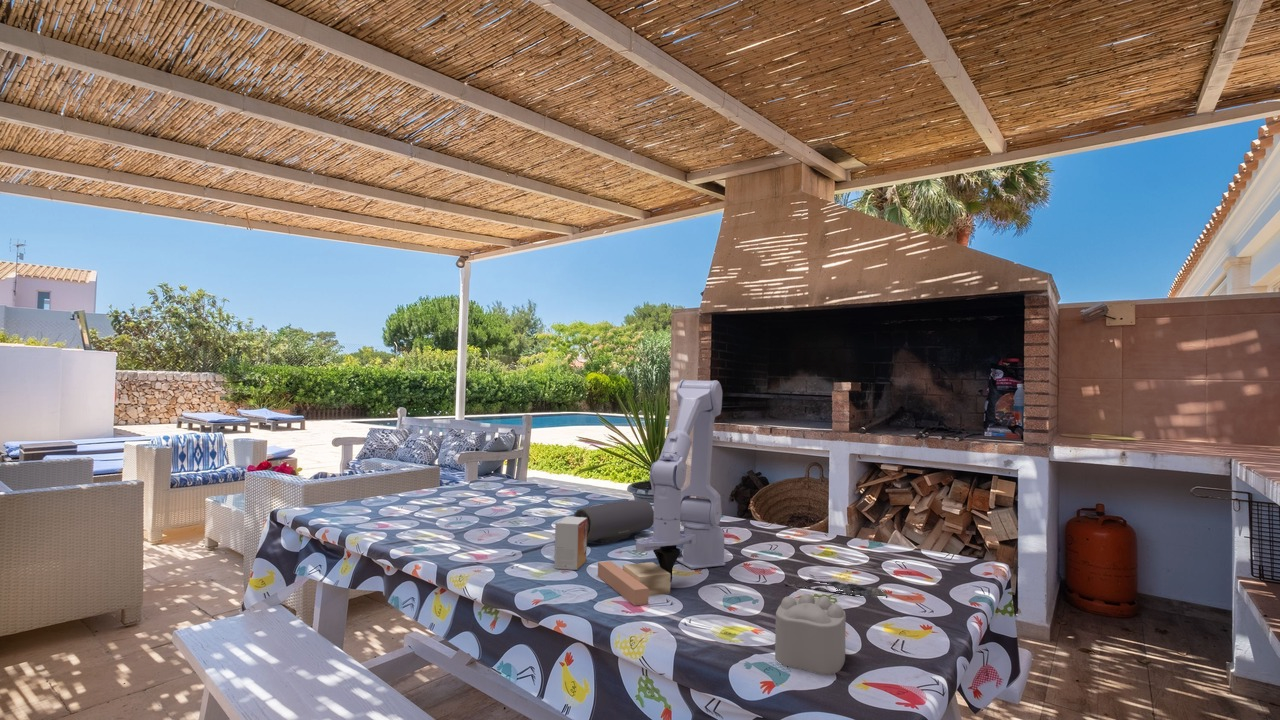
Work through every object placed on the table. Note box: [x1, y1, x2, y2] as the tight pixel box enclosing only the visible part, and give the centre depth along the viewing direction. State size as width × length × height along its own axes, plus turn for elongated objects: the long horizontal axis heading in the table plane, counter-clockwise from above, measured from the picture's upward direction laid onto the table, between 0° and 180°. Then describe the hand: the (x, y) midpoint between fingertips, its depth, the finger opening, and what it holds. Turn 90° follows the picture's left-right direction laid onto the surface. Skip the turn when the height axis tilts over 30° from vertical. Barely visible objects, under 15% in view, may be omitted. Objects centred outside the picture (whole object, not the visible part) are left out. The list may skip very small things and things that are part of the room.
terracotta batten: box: [597, 560, 649, 607], centre depth 132 cm, size 3×20×3 cm, turn 24°
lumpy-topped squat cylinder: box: [774, 593, 847, 675], centre depth 102 cm, size 10×13×9 cm
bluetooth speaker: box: [573, 499, 654, 543], centre depth 175 cm, size 23×9×10 cm, turn 133°
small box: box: [553, 516, 588, 571], centre depth 149 cm, size 8×6×10 cm
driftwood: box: [784, 578, 888, 597], centre depth 136 cm, size 21×7×2 cm, turn 65°
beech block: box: [622, 561, 671, 597], centre depth 133 cm, size 7×9×4 cm
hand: (665, 581), depth 134 cm, fingers closed, pressing on beech block
